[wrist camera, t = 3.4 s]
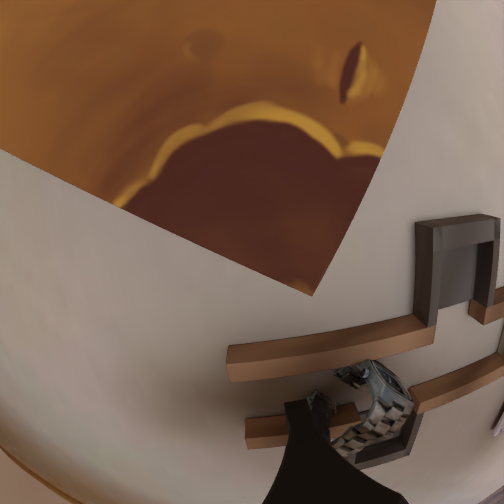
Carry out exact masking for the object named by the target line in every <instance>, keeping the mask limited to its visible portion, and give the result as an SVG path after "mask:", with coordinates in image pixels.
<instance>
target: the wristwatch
mask: <svg viewBox="0 0 504 504" xmlns="http://www.w3.org/2000/svg"><path fill="white" fill-rule="evenodd" d="M334 376H336V377H338V378H340V380H341V381H343V382H345V383H347V384H349V385H350V386H352V387H354V388H355V389H359V388H360V386H363V385H365V384H367V385H368V387H369V389H370V393H371V395H372V398H373V400H374V401H373V404H372V406H371V408H370V411H369V412H368V414H367V415H366V420H365V421H363V422H361V423H358V424H356V425H355V426H352V425H351V426H350V427H349V428H348V429H347V430H346V431H345V432H344V433H343V434H342V436H340V437H339V438H337V439H335V440H334V441H332V442H331V441H330V430H329V429H328V428H327V426H328V425H329V424H330V418H331V417H332V416H335V415H336V413H337V411H336V409H335V408H336V402H334V401H332V400H331V399H330V398H329V397H327V396H326V395H324V394H323V393H322V392H319V391H318V390H316V389H315V392H314V393H313V394H312V396H308V397H307V401H308V404H309V407H310V410H311V414H312V420H313V424H314V425H315V426H316V428H317V429H318V430H319V432H320V433H321V434H322V435H323V437H324V438H325V439H326V440H327V441H328V442H329V443H330V445H331V446H332V447H333V448H334V449H335V450H336V451H337V452H338V453H339V454H340V455H341V456H344V457H347V456H348V455H349V454H354V453H357V452H359V451H361V450H362V449H363V448H364V446H368V445H371V444H372V443H373V442H375V441H376V440H377V439H379V440H386V439H389V438H391V437H392V436H393V435H394V434H395V433H396V432H397V431H398V430H399V429H400V428H401V427H402V426H403V424H404V423H405V421H406V420H407V418H408V416H409V415H410V413H411V411H412V409H413V407H414V402H413V399H412V397H411V396H410V394H409V392H408V391H407V389H406V387H405V386H404V385H403V383H402V382H401V381H400V379H399V378H398V377H397V376H396V375H395V374H394V373H392V372H391V371H390V370H389V369H387V368H386V367H385V366H383V365H382V364H381V363H379V362H377V361H375V360H370V359H367V360H365V361H364V362H362V363H359V364H354V365H349V366H344V367H340V368H339V369H338V371H337V372H335V374H334Z"/></svg>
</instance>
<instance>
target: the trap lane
mask: <svg viewBox="0 0 504 504" xmlns="http://www.w3.org/2000/svg"><path fill="white" fill-rule="evenodd" d="M415 228H416V274H415V296H414V310H413V314H411V315H407V316H403V317H399V318H395V319H391V320H386V321H382V322H377V323H373V324H368V325H363V326H358V327H353V328H348V329H343V330H337V331H332V332H326V333H321V334H315V335H308V336H302V337H295V338H289V339H282V340H274V341H266V342H258V343H250V344H241V345H231V346H229V347H228V353H227V359H226V368H227V372H228V376H229V380H230V382H242V381H252V380H262V379H270V378H278V377H286V376H293V375H300V374H306V373H312V372H318V371H324V370H329V369H334V368H339V367H344V366H349V365H354V364H359V363H362V362H364V361H365V360H367V359H370V360H376V359H380V358H384V357H388V356H392V355H395V354H399V353H403V352H406V351H410V350H413V349H417V348H420V347H423V346H427V345H430V344H433V342H434V336H435V330H436V322H437V315H438V309H442V308H445V307H449V306H452V305H455V304H459V303H462V302H465V301H468V300H470V306H469V313H468V314H469V315H470V316H472V317H473V318H474V319H476V320H477V321H478V322H480V323H481V324H482V325H486V324H488V323H490V322H493V321H495V320H498V319H500V318H502V317H504V287H501V288H499V289H496V290H495V287H496V279H497V271H498V260H499V246H500V218H497V217H493V216H489V215H484V214H477V215H469V216H461V217H453V218H445V219H437V220H429V221H421V222H415ZM503 375H504V328H503V332H502V336H501V340H500V344H499V347H498V351H497V352H496V353H494V354H492V355H490V356H488V357H486V358H484V359H482V360H480V361H477V362H475V363H473V364H471V365H468V366H466V367H464V368H461V369H459V370H456V371H454V372H451V373H449V374H446V375H444V376H441V377H438V378H436V379H433V380H430V381H427V382H425V383H422V384H419V385H416V386H413V387H410V390H409V394H410V396H411V397H412V399H413V402H414V407H413V409H412V411H411V413H410V415H409V416H408V418H407V420H406V421H405V423H404V424H403V426H402V427H401V428H400V429H399V430H398V431H397V432H396V433H395V434H394V435H393V436H392V437H391V438H389V439H386V440H379V439H377V440H376V441H375V442H373V443H372V444H371V445H368V446H364V448H363V449H362V450H361V451H359V452H357V453H354V454H349V455H348V456H347V457H344V456H342V457H344V458H345V459H346V460H347V461H348V462H349V463H350V464H352V465H353V466H354V467H355V468H357V469H358V470H362V469H366V468H370V467H373V466H377V465H380V464H383V463H387V462H390V461H393V460H396V459H399V458H402V457H405V456H407V455H409V454H410V452H411V449H412V446H413V444H414V441H415V438H416V435H417V433H418V430H419V427H420V424H421V421H422V418H423V415H424V412H426V411H429V410H431V409H434V408H436V407H439V406H441V405H444V404H446V403H449V402H451V401H453V400H456V399H458V398H460V397H462V396H464V395H467V394H469V393H471V392H473V391H475V390H477V389H479V388H481V387H483V386H485V385H487V384H489V383H491V382H492V381H494V380H496V379H498V378H500V377H501V376H503ZM335 409H336V411H337V413H336V415H335V416H332V417H331V418H330V424H329V425H328V426H327V428H328V429H329V430H330V439H331V438H336V437H340V436H342V434H343V433H344V432H345V431H346V430H347V429H348V428H349V427H350V426H351V425H352V426H355V425H356V424H358V423H361V422H363V421H365V420H366V415H367V414H368V412H369V411H370V410H369V411H365V412H361V413H358V411H357V408H356V406H355V403H350V404H346V405H341V406H336V408H335ZM245 441H246V444H247V448H248V449H258V448H270V447H279V446H286V445H287V441H288V430H287V422H286V415H281V416H273V417H263V418H252V419H246V426H245Z"/></svg>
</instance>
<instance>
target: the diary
mask: <svg viewBox="0 0 504 504" xmlns="http://www.w3.org/2000/svg"><path fill="white" fill-rule="evenodd" d="M435 4H436V0H0V149H2V150H4V151H6V152H8V153H10V154H12V155H14V156H16V157H18V158H20V159H22V160H24V161H26V162H28V163H30V164H32V165H34V166H36V167H38V168H40V169H42V170H44V171H46V172H48V173H50V174H52V175H54V176H56V177H58V178H60V179H62V180H64V181H66V182H68V183H70V184H72V185H74V186H76V187H78V188H80V189H82V190H84V191H86V192H88V193H90V194H92V195H94V196H96V197H99V198H101V199H103V200H105V201H107V202H109V203H111V204H113V205H115V206H117V207H119V208H121V209H123V210H125V211H128V212H130V213H132V214H134V215H136V216H138V217H140V218H142V219H144V220H146V221H149V222H151V223H153V224H155V225H157V226H159V227H161V228H163V229H166V230H168V231H170V232H172V233H174V234H176V235H178V236H180V237H183V238H185V239H187V240H189V241H191V242H193V243H195V244H198V245H200V246H202V247H204V248H206V249H208V250H211V251H213V252H215V253H217V254H219V255H221V256H224V257H226V258H228V259H230V260H232V261H234V262H237V263H239V264H241V265H243V266H245V267H248V268H250V269H252V270H254V271H256V272H259V273H261V274H263V275H265V276H267V277H270V278H272V279H274V280H276V281H279V282H281V283H283V284H285V285H287V286H290V287H292V288H294V289H296V290H299V291H301V292H303V293H305V294H308V295H310V296H313V294H314V292H315V290H316V288H317V287H318V285H319V283H320V281H321V279H322V278H323V276H324V274H325V272H326V270H327V268H328V266H329V265H330V263H331V261H332V259H333V257H334V255H335V253H336V251H337V249H338V247H339V246H340V244H341V242H342V240H343V238H344V236H345V234H346V232H347V230H348V228H349V226H350V224H351V222H352V220H353V218H354V216H355V214H356V211H357V209H358V207H359V205H360V203H361V201H362V199H363V197H364V195H365V193H366V190H367V188H368V186H369V184H370V182H371V180H372V177H373V175H374V173H375V171H376V168H377V166H378V164H379V162H380V159H381V157H382V155H383V152H384V150H385V148H386V145H387V143H388V141H389V138H390V136H391V133H392V131H393V128H394V126H395V123H396V121H397V118H398V116H399V113H400V111H401V108H402V106H403V103H404V100H405V98H406V95H407V92H408V90H409V87H410V84H411V81H412V78H413V76H414V73H415V70H416V67H417V64H418V61H419V58H420V55H421V52H422V49H423V46H424V42H425V39H426V36H427V33H428V29H429V26H430V22H431V19H432V15H433V12H434V8H435Z"/></svg>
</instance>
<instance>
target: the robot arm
mask: <svg viewBox="0 0 504 504" xmlns="http://www.w3.org/2000/svg"><path fill="white" fill-rule="evenodd" d="M284 406H285V414H286V422H287V430H288V441H287V445H286V449H285V453H284V456H283V460H282V463H281V465H280V468H279V471H278V473H277V476H276V478H275V480H274V482H273V485H272V487H271V489H270V491H269V493H268V495H267V496H266V498H265V500H264V501H263V503H262V504H409V503H408V502H407V501H406V499H405V498H404V497H403V496H402V495H401V494H400V493H397V492H395V491H393V490H391V489H389V488H387V487H385V486H383V485H381V484H380V483H378V482H376V481H374V480H373V479H371V478H370V477H368V476H367V475H365V474H364V473H362V472H361V471H360V470H358V469H357V468H355V467H354V466H353V465H352V464H350V463H349V462H348V461H347V460H346V459H345V458H344V457H342V456H341V455H340V454H339V453H338V452H337V451H336V450H335V449H334V448H333V447H332V446H331V445H330V443H329V442H328V441H327V440H326V439H325V438H324V437H323V435H322V434H321V433H320V432H319V430H318V429H317V428H316V426H315V425H314V424H313V420H312V414H311V410H310V407H309V404H308V401H307V399H303V400H298V401H292V402H286V403H284ZM502 431H504V412H503V414H502V416H501V418H500V420H499V422H498V424H497V425H496V427H495V429H494V431H493V435H494V436H496V435H498V434H499V433H501V432H502ZM478 504H504V485H503V486H502V487H501V488H500V489H498V490H497V491H495V492H494V493H493V494H491V495H490V496H488V497H487V498H486V499H484V500H483V501H481V502H480V503H478Z"/></svg>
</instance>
